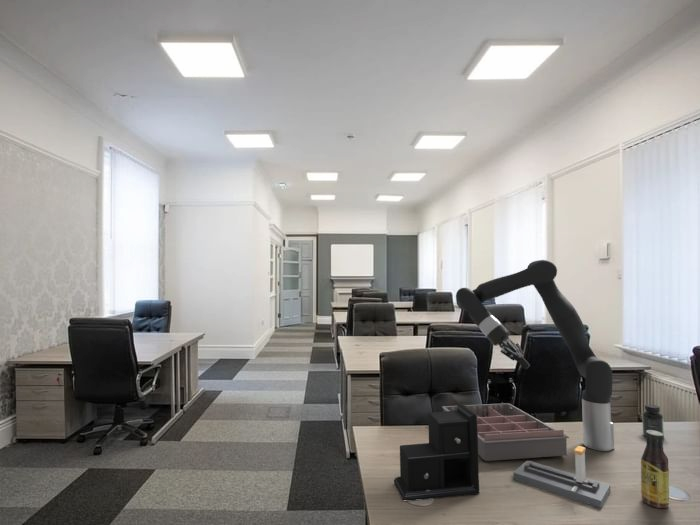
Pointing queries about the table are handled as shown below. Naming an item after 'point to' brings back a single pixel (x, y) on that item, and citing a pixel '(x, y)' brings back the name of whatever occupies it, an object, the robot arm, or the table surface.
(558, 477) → the grey slider track base
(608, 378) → the robot arm
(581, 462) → the fader tab
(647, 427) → the supplement bottle
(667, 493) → the sauce bottle
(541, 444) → the organizer tray
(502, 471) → the table surface
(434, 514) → the table surface
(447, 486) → the black drawer cabinet
